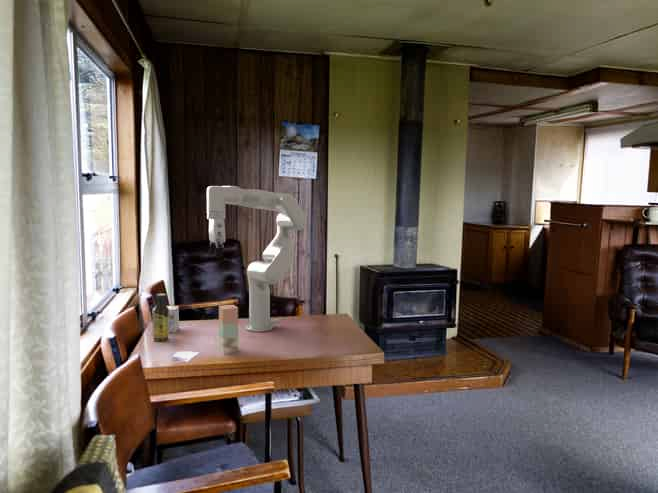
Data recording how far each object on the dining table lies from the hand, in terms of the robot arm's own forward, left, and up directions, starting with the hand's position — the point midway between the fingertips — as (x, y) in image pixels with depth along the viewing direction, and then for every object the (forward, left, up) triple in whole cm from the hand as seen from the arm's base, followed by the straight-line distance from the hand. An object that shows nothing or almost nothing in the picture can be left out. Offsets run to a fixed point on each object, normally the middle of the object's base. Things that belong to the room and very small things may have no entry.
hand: (216, 255), depth 210 cm
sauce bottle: (+22, -8, -36) cm, 43 cm away
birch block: (0, +18, -36) cm, 41 cm away
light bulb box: (+18, -22, -37) cm, 46 cm away
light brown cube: (0, +18, -24) cm, 30 cm away
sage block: (0, +18, -30) cm, 35 cm away
